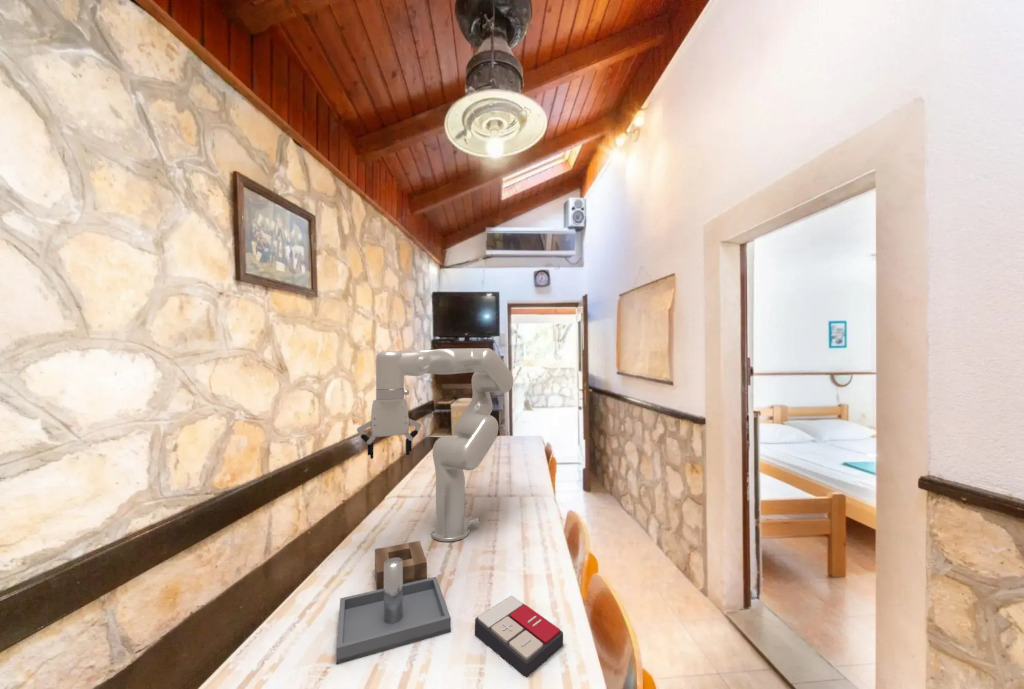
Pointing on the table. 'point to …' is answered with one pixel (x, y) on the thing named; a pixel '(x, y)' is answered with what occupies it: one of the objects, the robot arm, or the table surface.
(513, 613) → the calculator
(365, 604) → the tray
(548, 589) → the table surface
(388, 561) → the pin
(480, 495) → the table surface
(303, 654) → the table surface
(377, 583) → the block
